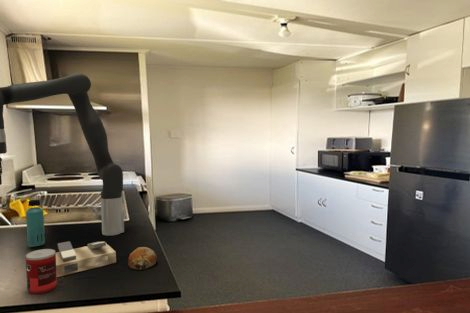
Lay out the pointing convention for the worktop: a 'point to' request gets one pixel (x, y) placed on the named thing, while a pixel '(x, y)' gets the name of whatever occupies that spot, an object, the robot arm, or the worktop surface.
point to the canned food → (41, 271)
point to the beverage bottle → (35, 224)
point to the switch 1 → (66, 251)
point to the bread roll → (142, 258)
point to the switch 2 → (96, 245)
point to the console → (85, 260)
